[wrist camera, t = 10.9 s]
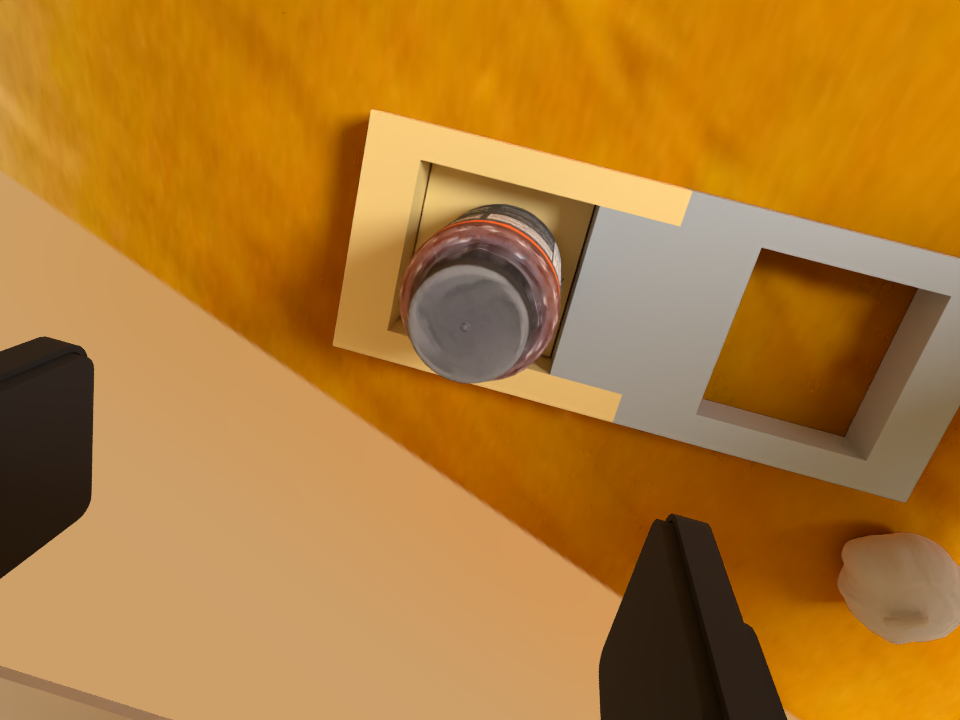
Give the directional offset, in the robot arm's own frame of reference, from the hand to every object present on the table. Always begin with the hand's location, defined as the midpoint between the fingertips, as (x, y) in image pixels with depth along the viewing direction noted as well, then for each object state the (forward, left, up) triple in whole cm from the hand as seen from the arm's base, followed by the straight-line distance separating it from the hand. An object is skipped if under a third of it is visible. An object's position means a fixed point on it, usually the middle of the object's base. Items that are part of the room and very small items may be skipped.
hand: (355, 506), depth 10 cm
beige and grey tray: (-7, 0, -22) cm, 23 cm away
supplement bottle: (0, 0, -22) cm, 22 cm away
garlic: (-23, +10, -23) cm, 34 cm away
